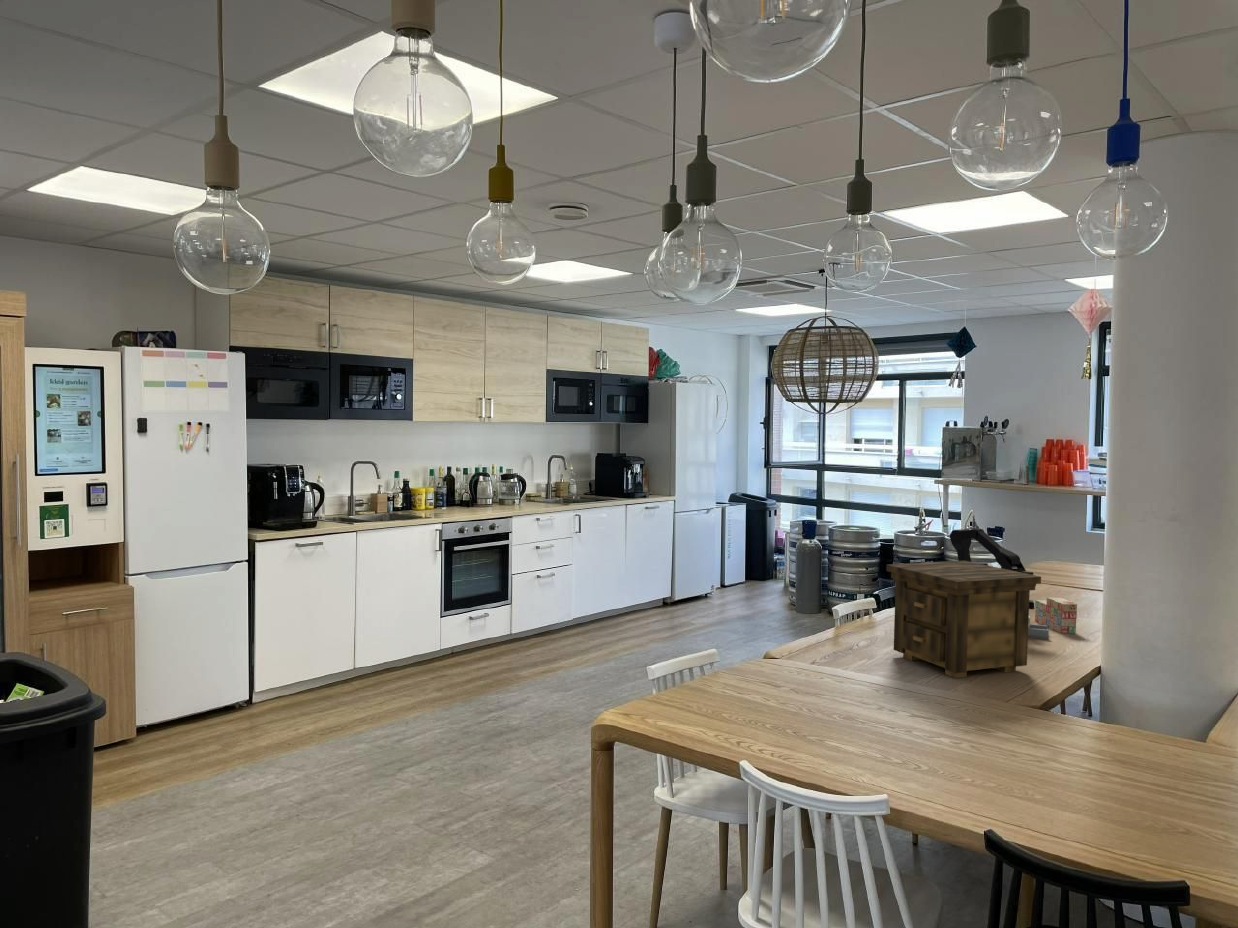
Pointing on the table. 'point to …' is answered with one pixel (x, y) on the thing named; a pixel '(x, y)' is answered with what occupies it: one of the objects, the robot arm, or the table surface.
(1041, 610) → the stack of blocks
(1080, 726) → the table surface
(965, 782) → the table surface
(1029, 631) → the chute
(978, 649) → the wooden nightstand
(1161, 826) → the table surface
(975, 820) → the table surface
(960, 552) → the robot arm
